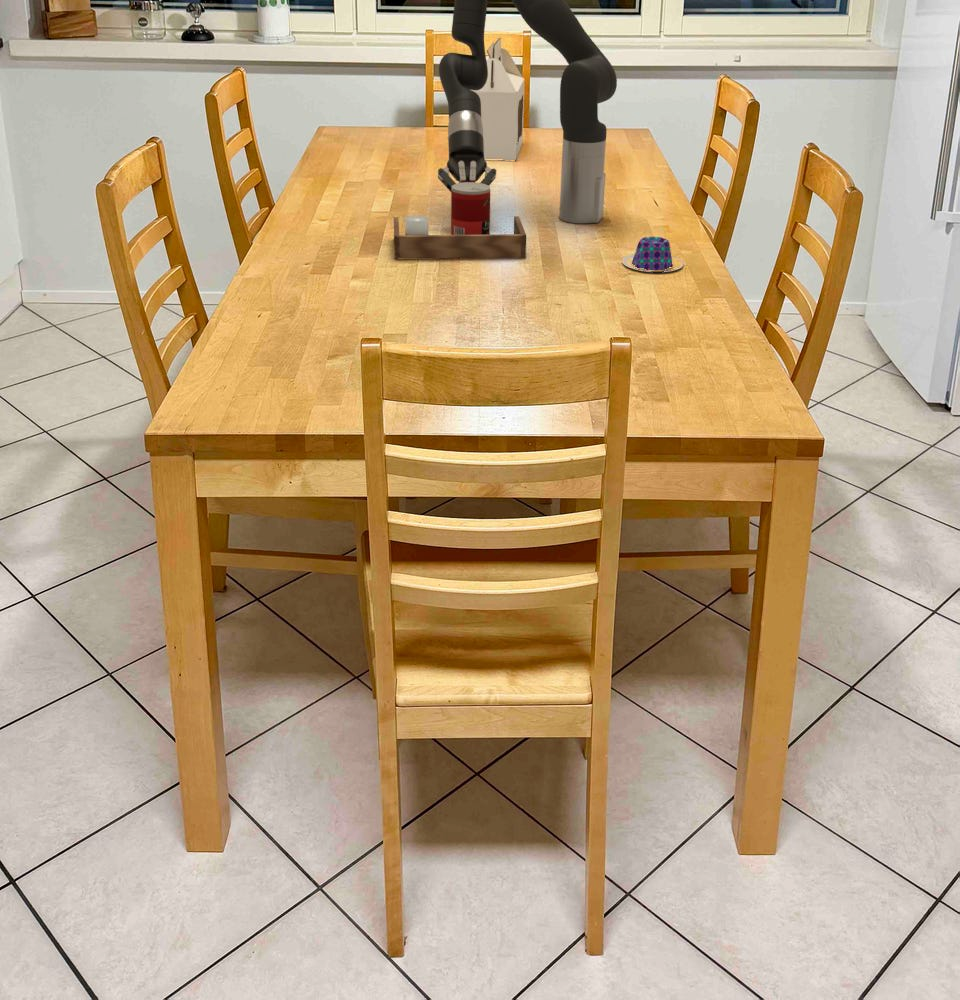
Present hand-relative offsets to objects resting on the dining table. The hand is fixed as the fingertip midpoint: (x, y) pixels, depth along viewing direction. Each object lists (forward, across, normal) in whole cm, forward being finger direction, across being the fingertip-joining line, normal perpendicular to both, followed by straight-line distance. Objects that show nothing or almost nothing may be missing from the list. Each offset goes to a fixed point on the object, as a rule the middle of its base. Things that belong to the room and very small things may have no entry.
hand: (468, 211), depth 240 cm
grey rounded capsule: (+13, -11, -6) cm, 18 cm away
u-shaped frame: (+10, -3, -4) cm, 11 cm away
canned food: (+7, 0, 0) cm, 7 cm away
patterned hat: (+19, +35, -12) cm, 42 cm away
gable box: (-51, +12, +59) cm, 79 cm away
